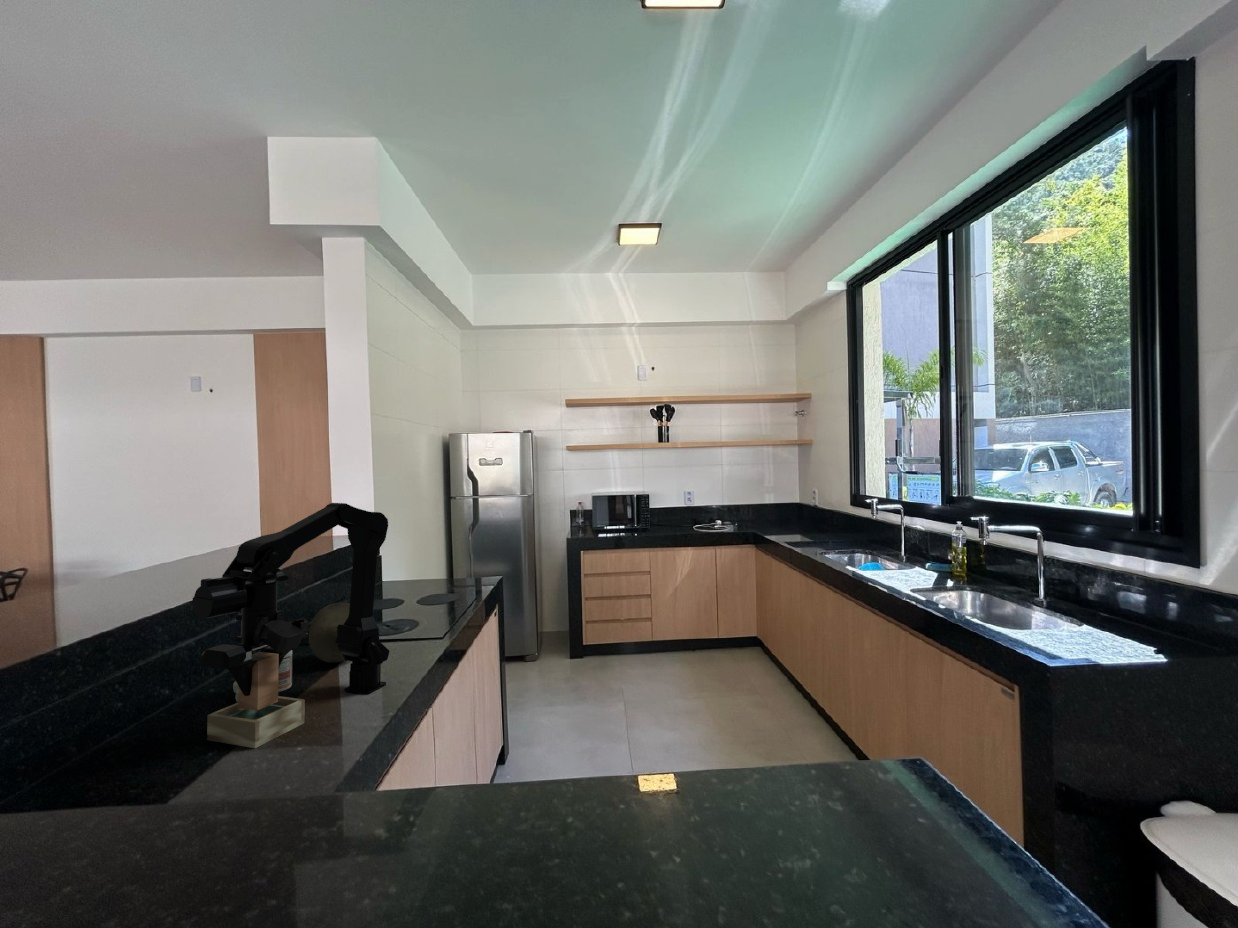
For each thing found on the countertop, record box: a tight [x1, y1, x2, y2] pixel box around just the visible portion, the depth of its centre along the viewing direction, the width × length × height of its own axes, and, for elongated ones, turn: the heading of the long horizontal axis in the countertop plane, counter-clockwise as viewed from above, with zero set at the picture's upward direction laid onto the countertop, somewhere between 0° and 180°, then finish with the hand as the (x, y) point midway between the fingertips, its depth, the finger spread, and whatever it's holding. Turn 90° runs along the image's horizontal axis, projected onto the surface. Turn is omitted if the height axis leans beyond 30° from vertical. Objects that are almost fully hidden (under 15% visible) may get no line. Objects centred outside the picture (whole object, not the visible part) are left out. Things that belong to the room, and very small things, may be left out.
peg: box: [237, 651, 279, 711], centre depth 111 cm, size 4×4×9 cm
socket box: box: [206, 695, 306, 749], centre depth 111 cm, size 11×11×4 cm
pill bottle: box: [278, 650, 293, 693], centre depth 133 cm, size 6×6×11 cm
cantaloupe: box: [308, 602, 350, 664], centre depth 151 cm, size 14×14×15 cm
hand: (258, 690), depth 111 cm, fingers closed on peg, 4 cm apart
